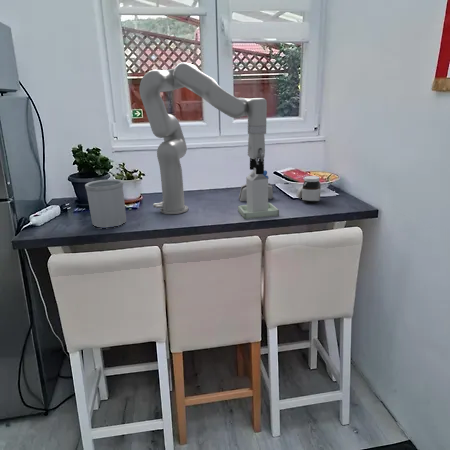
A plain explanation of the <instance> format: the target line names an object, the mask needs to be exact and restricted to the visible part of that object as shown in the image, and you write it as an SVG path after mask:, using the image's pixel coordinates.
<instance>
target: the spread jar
mask: <svg viewBox="0 0 450 450" xmlns="http://www.w3.org/2000/svg"><path fill="white" fill-rule="evenodd" d="M321 186H322V185H321V181H320V176H318V175H307V176H304V181H303V184H302V185H301V186H300V187H299V188H298V189H297V191H296V197H297V199H300V200H302V202H303V203H304V204H311V205H313V204H318V203H319V202H320V200H321V188H322V187H321ZM301 198H302V199H301Z"/></svg>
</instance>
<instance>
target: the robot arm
mask: <svg viewBox="0 0 450 450" xmlns="http://www.w3.org/2000/svg"><path fill="white" fill-rule="evenodd" d="M138 88H139V96H140V98H141V99H140V100H141V101H142V104H143V108H144V110H145V113H146V117H147V120H148V122H149V126H150V128H151V131H152V133H153V135H154V136H155V137H156V138H159V139H163V140H164V141H162V142H161V143H160V144H159V145H158V147H157V149H156V157H157V161H158V166H159V171H160V180H161V181H160V182H161V193H162V201H160V202H157V203H155V202H154V203H153V205H152V206H153V208H154V209H155V208H156V209H159V210H160V213H161V214H165V215H179V214H183V213H186V212H188V211H189V206H188V205H185V194H184V181H183V180H184V179H183V178H184V177H183V169H182V164H181V160H180V159H182V158H183V157H184V156H185V155H186V153H187V149H188V148H187V142H186V139H185V137H184V133H183V130H182V128H181V127H182V126H181V124H180V122H179V120H178V119H177V117H176V116H175V115H173V114H171V113H168V111H167V108H166V104H165V102H164V99H163V98H162V96H161V92H163V93H164V92H171V91H174V90H175V91H176V90H179V89H182V88H186V89H187V90H189V91H191V92H192V93H194V94H196V95H197V96H199V97H200V98H202V99H203V100H205V102H207V103H209V104H210V105H211V106H212V107H214V108H215V109H216V110H218V111H220V112H221V113H223V114H224V115H227V116H228V117H230V118H232V119H239V118H242V117H246V116H247V135H248V140H247V141H248V142H247V156H248V157H249V170H251V171H253V170H254V168H256V174H264V170H265V155H266V154H265V153H266V141H265V135H266V134H267V117H268V116H267V108H268V107H267V106H268V105H267V104H268V103H267V102H268V101H267V99H265V98H264V97H253V98H252V97H251V98H245V97H236V96H235V95H233V94H231V93H229V92H227V90H224V89H223V88H222V87H221V86H220V85H219V84H218V83H217V81H216V80H215V79H214V78H213V77H211V76H209V75H207V74H206V73H204V72H203V71H201V70H199V68H198V67H197V66H196V65H195V64H192V63H189V62H180V63H178V64H177V65H176V66H175V67H174V68H170V69H166V70H161V69H152V70H149V71H148V72H146V73H145V74H144V75H143V77H142V78H141V80H140V84H139V87H138Z"/></svg>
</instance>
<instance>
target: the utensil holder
mask: <svg viewBox="0 0 450 450" xmlns="http://www.w3.org/2000/svg"><path fill="white" fill-rule="evenodd" d="M84 187H85V190H86V195H87V201H88V206H89V212H90V217H91V218H90V219H91V223H92V226H93V225H94V226H97V227H110V226H117V225H121V224H123V223H125V222H126V223H127V212H126V204H125V196H124V195H125V194H124V181H123V180H122V179H118V178H117V179H115V178H111V179H110V178H109V179H100V180H99V179H98V180H93V181H89V182H87V183H85V184H84ZM126 223H125V224H126ZM123 225H124V224H123ZM94 226H93V227H94ZM121 226H122V225H121Z"/></svg>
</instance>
